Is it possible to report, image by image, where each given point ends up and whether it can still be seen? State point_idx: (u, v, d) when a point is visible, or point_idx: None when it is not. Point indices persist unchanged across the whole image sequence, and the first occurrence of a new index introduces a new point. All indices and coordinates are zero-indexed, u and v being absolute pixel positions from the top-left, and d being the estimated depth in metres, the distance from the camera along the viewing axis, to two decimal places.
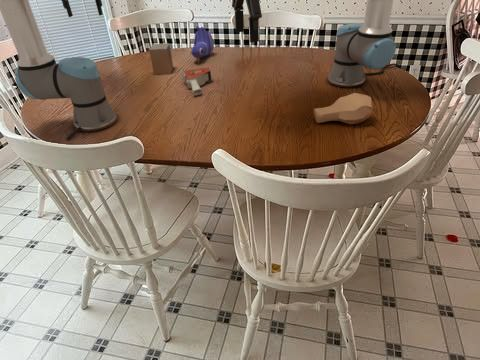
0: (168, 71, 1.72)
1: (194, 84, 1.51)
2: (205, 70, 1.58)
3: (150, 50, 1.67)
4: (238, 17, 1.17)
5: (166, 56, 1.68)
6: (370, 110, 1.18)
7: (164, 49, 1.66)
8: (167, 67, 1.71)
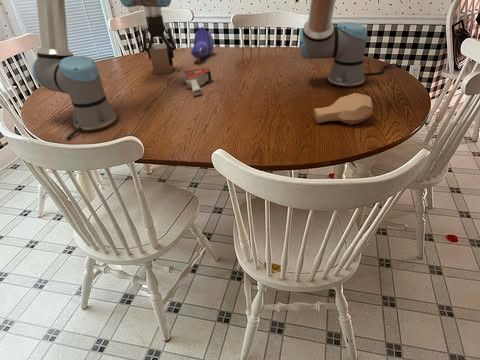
0: (168, 71, 1.72)
1: (194, 84, 1.51)
2: (205, 70, 1.58)
3: (150, 50, 1.67)
4: None
5: (166, 56, 1.68)
6: (370, 110, 1.18)
7: (164, 49, 1.66)
8: (167, 67, 1.71)
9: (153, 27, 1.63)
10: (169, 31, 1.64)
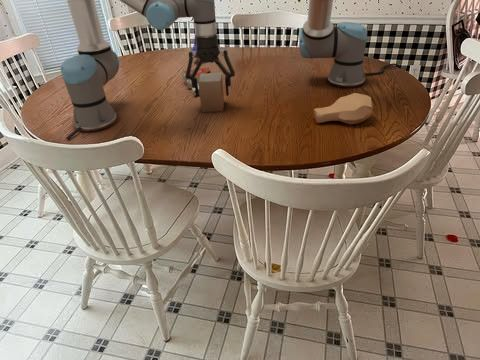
0: (220, 108, 1.35)
1: None
2: (205, 70, 1.58)
3: (199, 83, 1.29)
4: None
5: (219, 90, 1.31)
6: (370, 110, 1.18)
7: (218, 82, 1.29)
8: (219, 103, 1.34)
9: (204, 50, 1.25)
10: (225, 54, 1.26)
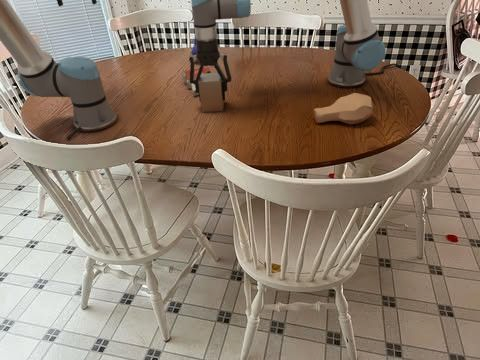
0: (220, 108, 1.35)
1: None
2: (205, 70, 1.58)
3: (200, 83, 1.29)
4: None
5: (219, 90, 1.31)
6: (370, 110, 1.18)
7: (218, 82, 1.29)
8: (219, 103, 1.34)
9: None
10: None
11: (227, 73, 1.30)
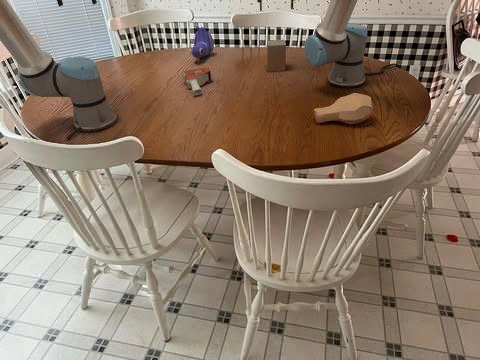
0: (283, 68, 1.67)
1: (194, 84, 1.51)
2: (205, 70, 1.58)
3: (269, 46, 1.61)
4: None
5: (284, 53, 1.63)
6: (370, 110, 1.18)
7: (283, 45, 1.61)
8: (283, 64, 1.66)
9: None
10: None
11: None
